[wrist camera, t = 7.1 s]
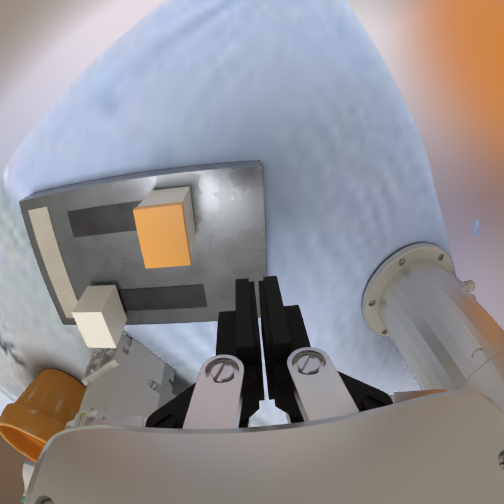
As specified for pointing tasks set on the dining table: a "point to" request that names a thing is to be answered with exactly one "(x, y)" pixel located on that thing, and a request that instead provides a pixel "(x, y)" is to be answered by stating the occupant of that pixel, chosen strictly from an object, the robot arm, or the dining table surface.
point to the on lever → (100, 316)
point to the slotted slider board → (128, 246)
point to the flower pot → (41, 411)
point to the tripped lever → (166, 227)
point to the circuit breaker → (124, 383)
